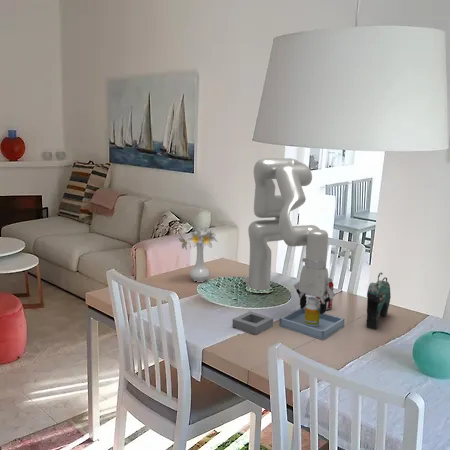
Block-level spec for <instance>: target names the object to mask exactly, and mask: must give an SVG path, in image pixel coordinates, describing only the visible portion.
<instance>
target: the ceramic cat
mask: <svg viewBox="0 0 450 450" xmlns="http://www.w3.org/2000/svg"><path fill="white" fill-rule="evenodd" d="M383 274H384V273H383V272H379V273H378V275H377V281H376V282H370V283H369V285H368V287H367V293H366V297H367V300H366V301H367V302H366V303H367V304H366V323H365V324H366V328H367V329H372V330H377V329H378V328H379V321H380V317H382V318H386V317H387V316H388V311H389V306H390V303H391V287H390V286H391V285H390V283H389V281H388V277H383V278H382V279H381V280H380V276H382V275H383Z"/></svg>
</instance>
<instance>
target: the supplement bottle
mask: <svg viewBox="0 0 450 450" xmlns="http://www.w3.org/2000/svg"><path fill="white" fill-rule="evenodd" d="M318 303H319V299H318V298H316V297H315V296H310V297H309V296H308V297H307V302H306V306H305V320H304V323H305V324H306V325H308V326H318V325H319V318H320V305H319V304H318Z"/></svg>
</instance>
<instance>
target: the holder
mask: <svg viewBox="0 0 450 450" xmlns="http://www.w3.org/2000/svg"><path fill="white" fill-rule="evenodd" d="M231 326H233V327H232V328H234V327H236V328H235V329H237V328H238V329H237V330H240V329H241V331H243V332H246V333H249V334H252V335H254V336H257V335H258V334H261V333H262V332H265V331H266V330H268V329H270V328H272V327H273V326H274V318H273V317H271V316H266V315H263V314H260V313H257V312H253V311H251V310H250V311H248V312H245V313H243V314H241V315H239V316H237V317H234V318H232V325H231Z"/></svg>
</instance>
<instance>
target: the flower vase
mask: <svg viewBox="0 0 450 450" xmlns="http://www.w3.org/2000/svg"><path fill="white" fill-rule="evenodd" d="M207 230H208V229H207V228H206V227H205V228H203V229H201V228H200V227H196V229H195V230H194V231H190V232H189V235H190V237H189V238H187V239H186V238H185V237H184V236H183V235H182V234H181V233H180V237H179V238H178V240H179V242H181V249H183V250H184V248H185V251H187V249H188V248H187V246H188V244H189V243H192V245H191V246H192V247H193V248H196V260H195V265H194V266H193V267H192V269H190V272H189V277H190V278H191V279H192V281H193V280H194V281H197V282H196V283H198V282H202V281H205V280H206V281H207V279H208V278H209V277H210V275H211V274H210V270H209V269H208V268H207V266H206V265H205V260H204V248H205V247H206V246H208V247H209V248H210V249H211V248H213V243H212V242H217V243H218V240H217V238H216V233H215V232H213V229H212V228H210V231H207ZM194 281H193V282H194ZM206 281H205V282H206ZM202 283H203V282H202Z"/></svg>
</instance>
